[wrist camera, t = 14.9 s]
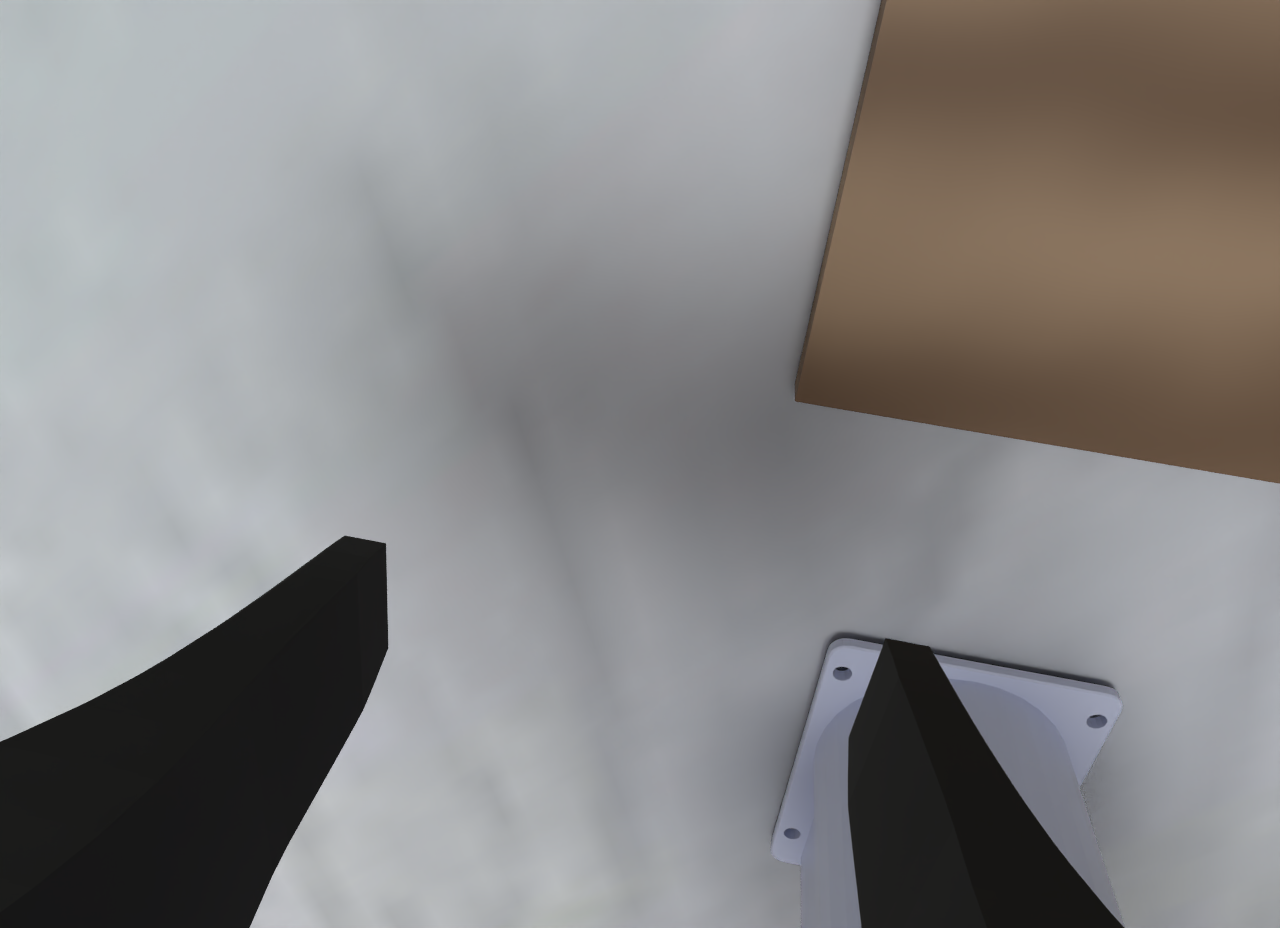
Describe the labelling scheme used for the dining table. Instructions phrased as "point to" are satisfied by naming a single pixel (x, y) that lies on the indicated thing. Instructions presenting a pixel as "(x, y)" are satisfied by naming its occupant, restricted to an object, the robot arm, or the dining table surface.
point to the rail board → (1063, 229)
